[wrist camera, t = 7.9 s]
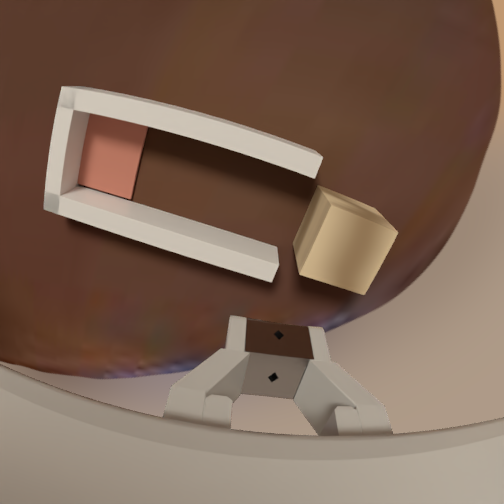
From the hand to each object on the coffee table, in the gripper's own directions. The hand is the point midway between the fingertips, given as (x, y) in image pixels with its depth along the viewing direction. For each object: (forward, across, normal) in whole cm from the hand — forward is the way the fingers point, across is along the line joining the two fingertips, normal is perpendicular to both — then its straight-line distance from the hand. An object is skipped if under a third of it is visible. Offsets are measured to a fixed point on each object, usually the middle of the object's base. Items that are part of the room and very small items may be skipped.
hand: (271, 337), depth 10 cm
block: (+15, -6, +1) cm, 16 cm away
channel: (+15, +7, -1) cm, 17 cm away
